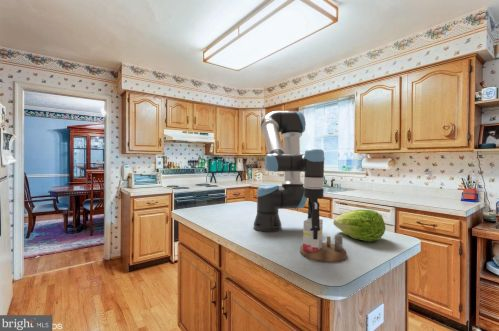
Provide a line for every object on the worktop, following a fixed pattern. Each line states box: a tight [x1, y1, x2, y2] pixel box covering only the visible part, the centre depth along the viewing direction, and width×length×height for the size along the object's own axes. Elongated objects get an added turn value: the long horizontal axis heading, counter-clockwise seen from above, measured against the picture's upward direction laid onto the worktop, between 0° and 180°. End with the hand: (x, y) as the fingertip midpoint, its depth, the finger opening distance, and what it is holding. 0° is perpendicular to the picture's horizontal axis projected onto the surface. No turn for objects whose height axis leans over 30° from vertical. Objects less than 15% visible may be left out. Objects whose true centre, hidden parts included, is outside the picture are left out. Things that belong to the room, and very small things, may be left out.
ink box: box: [302, 218, 324, 253], centre depth 102 cm, size 9×5×12 cm, turn 141°
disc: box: [299, 234, 348, 264], centre depth 102 cm, size 18×18×8 cm
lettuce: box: [332, 209, 386, 243], centre depth 123 cm, size 17×24×14 cm
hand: (312, 242), depth 102 cm, fingers open, 11 cm apart
